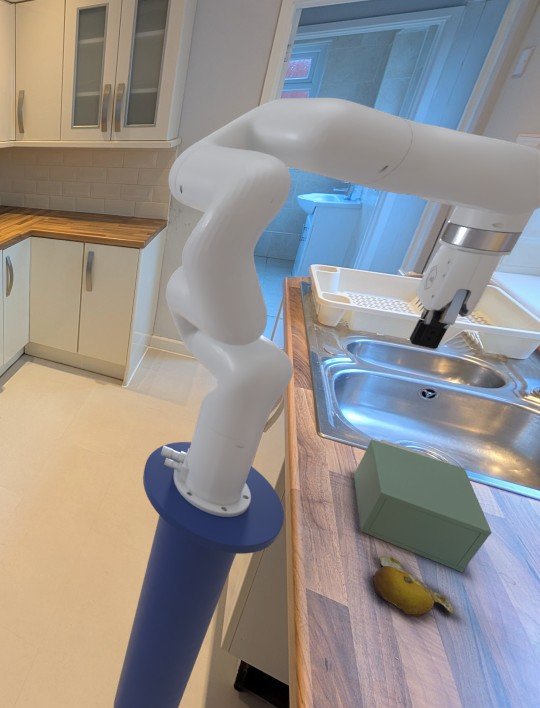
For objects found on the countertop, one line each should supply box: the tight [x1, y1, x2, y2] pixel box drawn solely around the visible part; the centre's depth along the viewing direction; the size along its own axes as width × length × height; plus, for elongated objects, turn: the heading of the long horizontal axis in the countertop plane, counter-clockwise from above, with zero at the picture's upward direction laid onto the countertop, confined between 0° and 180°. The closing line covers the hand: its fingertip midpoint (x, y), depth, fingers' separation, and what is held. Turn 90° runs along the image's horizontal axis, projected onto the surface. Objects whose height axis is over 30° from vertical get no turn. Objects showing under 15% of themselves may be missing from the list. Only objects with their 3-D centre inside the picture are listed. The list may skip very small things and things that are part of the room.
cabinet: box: [353, 439, 492, 573], centre depth 68 cm, size 14×12×9 cm
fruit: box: [372, 555, 455, 617], centre depth 58 cm, size 8×8×4 cm
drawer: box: [372, 438, 455, 465], centre depth 71 cm, size 17×10×7 cm, turn 146°
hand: (422, 344), depth 71 cm, fingers closed
